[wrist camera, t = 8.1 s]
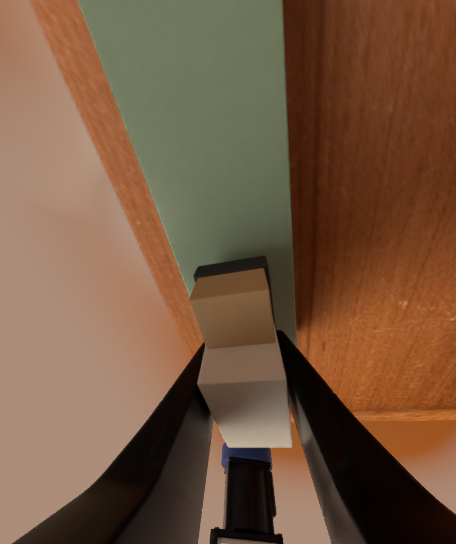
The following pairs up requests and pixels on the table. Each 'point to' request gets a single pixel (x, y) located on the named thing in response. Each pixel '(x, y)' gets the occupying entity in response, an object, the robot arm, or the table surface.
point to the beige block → (241, 354)
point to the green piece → (207, 127)
